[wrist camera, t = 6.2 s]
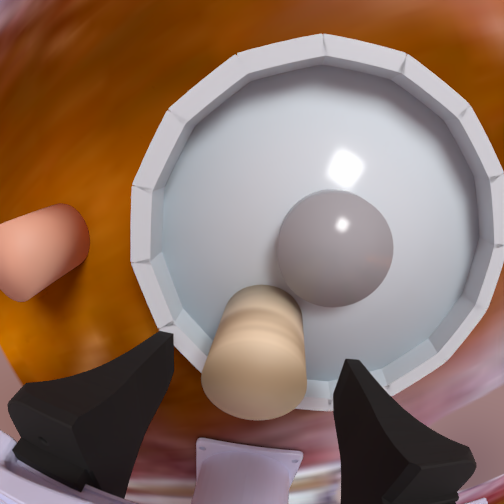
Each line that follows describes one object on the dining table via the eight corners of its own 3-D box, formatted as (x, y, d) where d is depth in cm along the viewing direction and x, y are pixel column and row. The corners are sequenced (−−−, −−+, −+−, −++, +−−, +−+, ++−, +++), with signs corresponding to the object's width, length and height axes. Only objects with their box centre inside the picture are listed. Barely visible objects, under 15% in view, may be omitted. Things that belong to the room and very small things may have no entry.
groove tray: (425, 387, 18) (437, 411, 16) (153, 355, 19) (138, 380, 17) (502, 107, 12) (528, 105, 10) (169, 41, 13) (150, 26, 11)
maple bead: (293, 357, 17) (294, 425, 12) (220, 345, 17) (199, 410, 12) (309, 291, 15) (318, 352, 11) (227, 278, 16) (203, 334, 11)
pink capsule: (91, 272, 18) (41, 309, 13) (44, 262, 18) (-7, 292, 13) (89, 206, 16) (31, 228, 12) (39, 201, 16) (-18, 220, 12)
